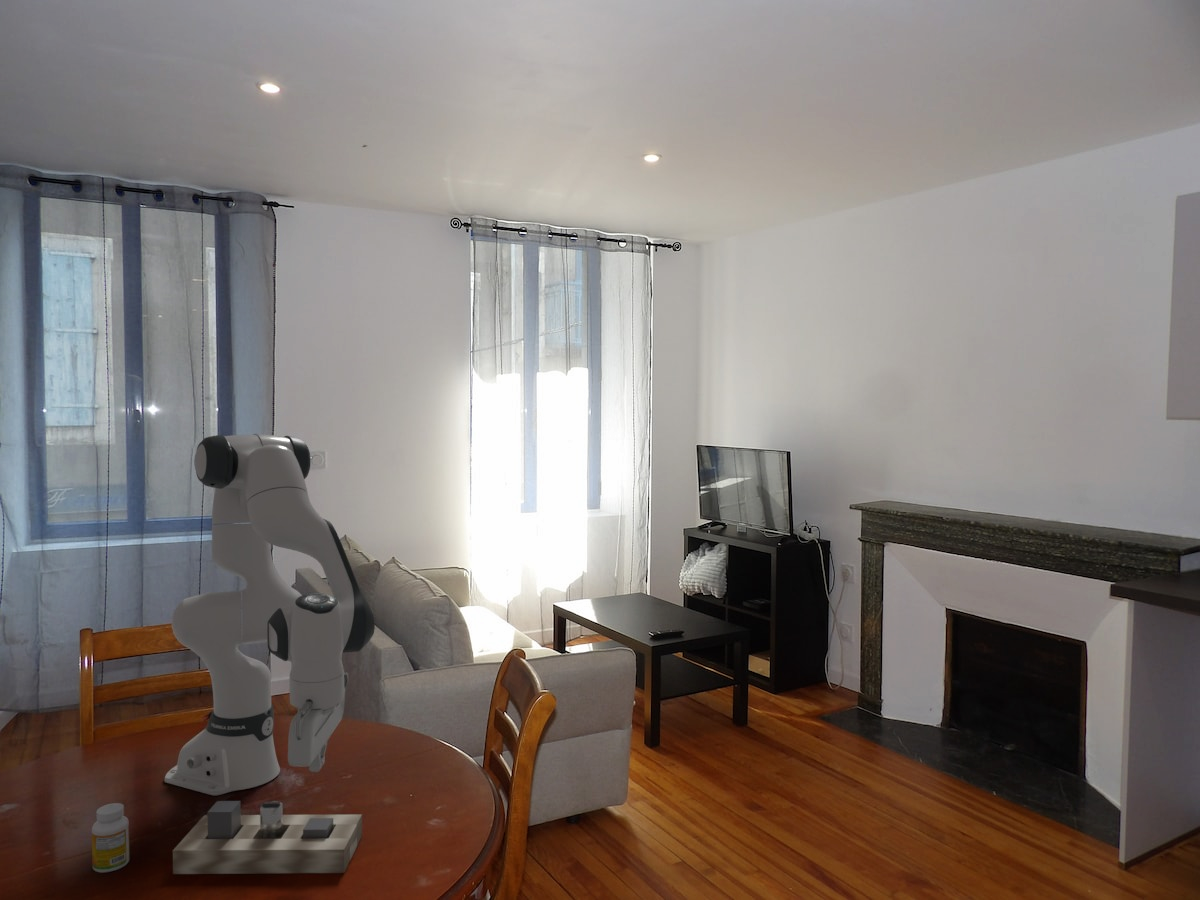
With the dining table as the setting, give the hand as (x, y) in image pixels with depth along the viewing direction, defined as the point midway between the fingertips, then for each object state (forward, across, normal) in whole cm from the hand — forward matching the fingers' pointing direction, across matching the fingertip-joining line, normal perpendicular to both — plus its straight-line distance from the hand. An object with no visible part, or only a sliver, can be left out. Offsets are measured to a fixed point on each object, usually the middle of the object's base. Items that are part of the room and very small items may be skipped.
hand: (317, 768), depth 146 cm
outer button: (+15, -1, 0) cm, 15 cm away
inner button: (+12, -1, +16) cm, 19 cm away
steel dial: (+12, -1, +8) cm, 14 cm away
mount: (+15, -1, +8) cm, 17 cm away
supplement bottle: (+16, -4, +33) cm, 37 cm away
